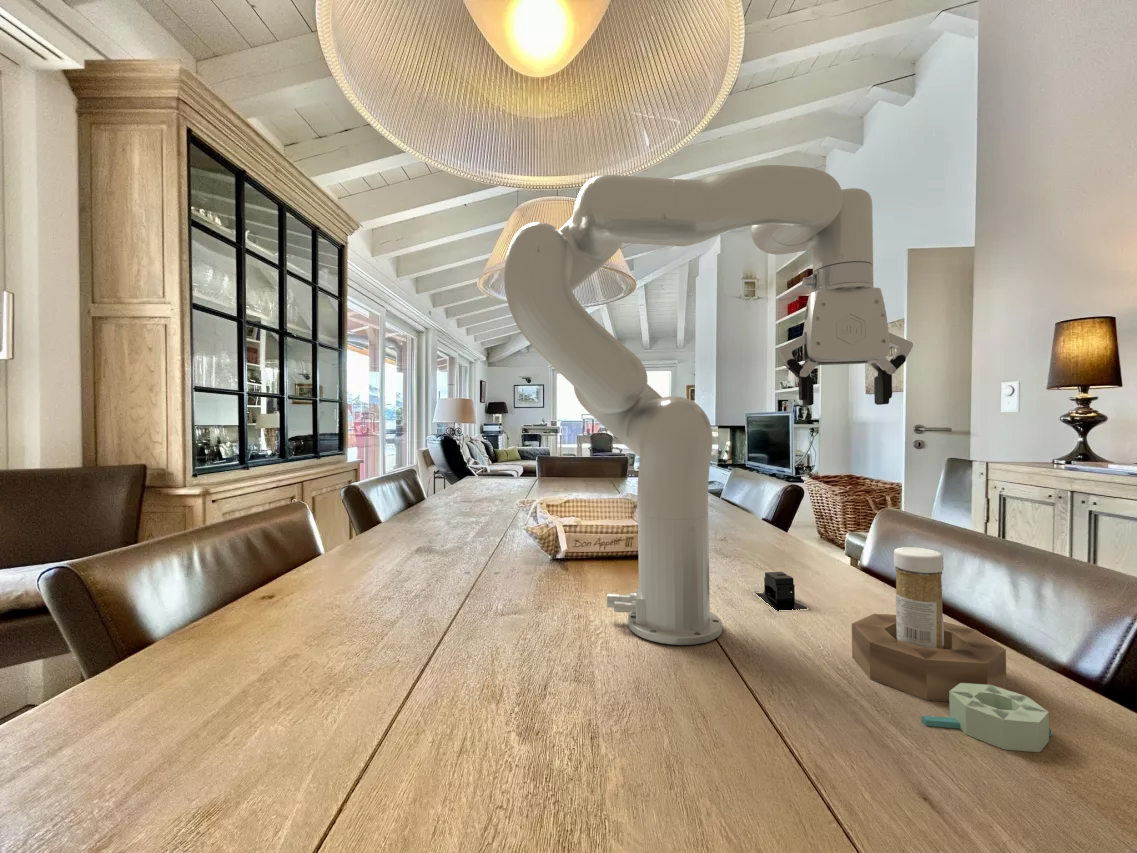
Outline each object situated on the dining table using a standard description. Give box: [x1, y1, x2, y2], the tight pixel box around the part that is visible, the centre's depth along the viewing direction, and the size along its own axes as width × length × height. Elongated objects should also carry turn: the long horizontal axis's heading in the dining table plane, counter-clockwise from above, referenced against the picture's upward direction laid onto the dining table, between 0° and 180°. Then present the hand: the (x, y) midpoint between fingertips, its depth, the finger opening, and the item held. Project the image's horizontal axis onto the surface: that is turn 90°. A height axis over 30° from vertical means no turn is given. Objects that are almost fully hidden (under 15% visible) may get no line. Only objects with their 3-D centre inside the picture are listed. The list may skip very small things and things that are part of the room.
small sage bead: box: [949, 683, 1050, 753], centre depth 47 cm, size 6×6×2 cm
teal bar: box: [920, 714, 1053, 737], centre depth 47 cm, size 10×1×1 cm, turn 80°
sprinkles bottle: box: [893, 546, 945, 649], centre depth 58 cm, size 5×5×14 cm
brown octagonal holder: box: [851, 613, 1007, 703], centre depth 58 cm, size 13×13×4 cm
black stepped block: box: [756, 571, 808, 612], centre depth 82 cm, size 12×7×5 cm, turn 5°
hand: (844, 405), depth 73 cm, fingers open, 9 cm apart
